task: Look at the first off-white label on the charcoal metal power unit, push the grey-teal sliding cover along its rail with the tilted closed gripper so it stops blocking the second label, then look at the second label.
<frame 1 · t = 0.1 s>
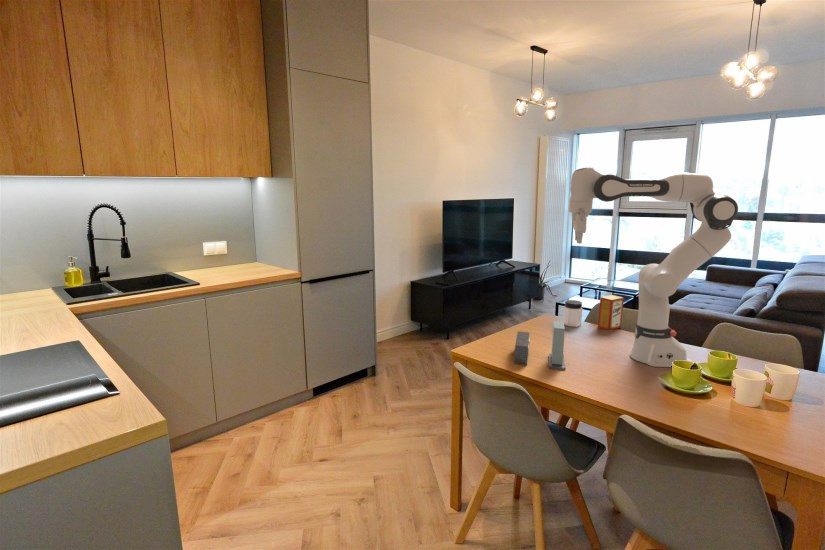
hand: (578, 241, 183), 48 cm above the table, tool pointing down, fingers open, 8 cm apart
baking soda box: (609, 327, 224), on the table
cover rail: (556, 362, 180), on the table
power unit: (521, 356, 187), on the table
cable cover: (557, 342, 178), point 9 cm above the table, slide at 0.0 cm
jar: (571, 324, 229), on the table
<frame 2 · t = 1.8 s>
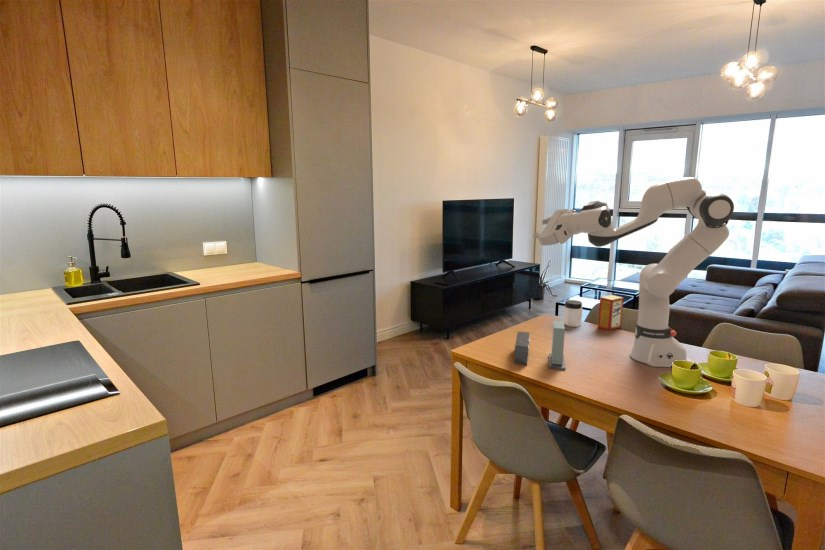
hand: (538, 229, 189), 53 cm above the table, tool horizontal, fingers open, 8 cm apart
nothing on the table moved.
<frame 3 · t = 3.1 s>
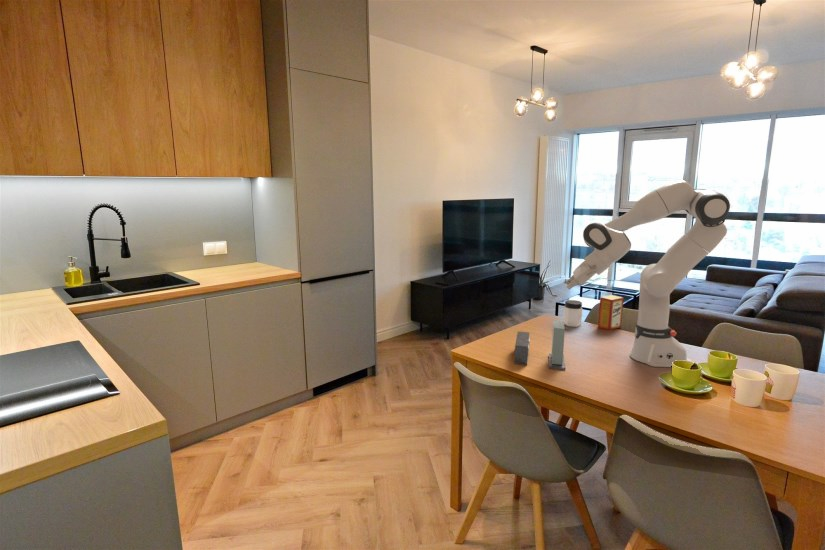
hand: (567, 285, 184), 30 cm above the table, tool tilted 45°, fingers open, 8 cm apart
nothing on the table moved.
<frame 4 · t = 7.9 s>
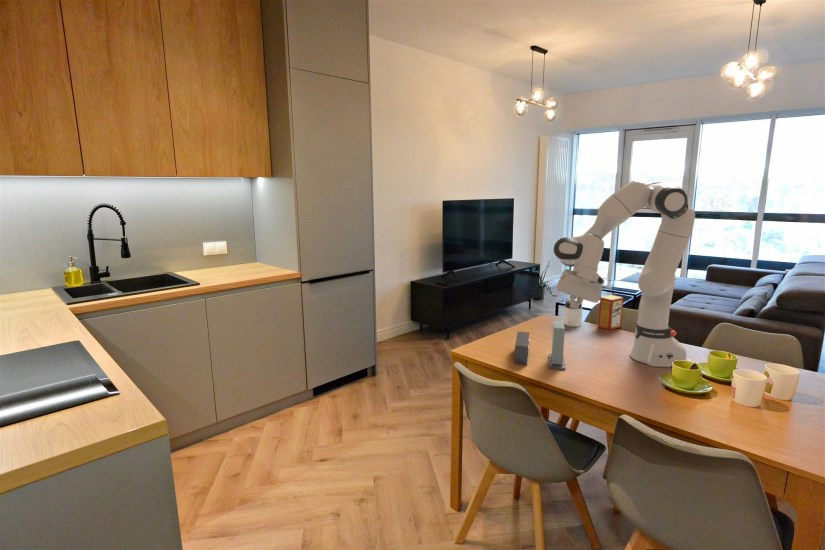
hand: (573, 308, 174), 23 cm above the table, tool tilted 20°, fingers closed
nothing on the table moved.
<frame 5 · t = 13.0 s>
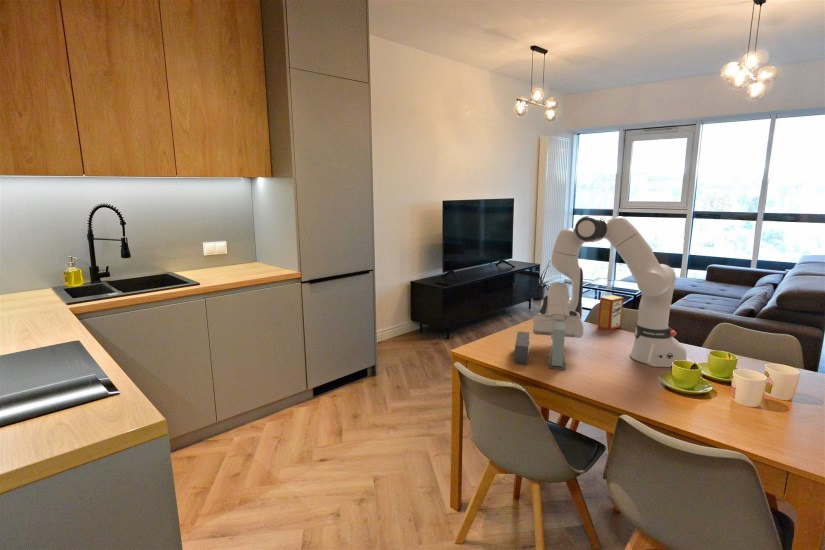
hand: (557, 344, 182), 6 cm above the table, tool tilted 45°, fingers closed, pressing on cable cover
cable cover: (557, 343, 177), point 9 cm above the table, slide at 1.5 cm, touching gripper
everything else where it was.
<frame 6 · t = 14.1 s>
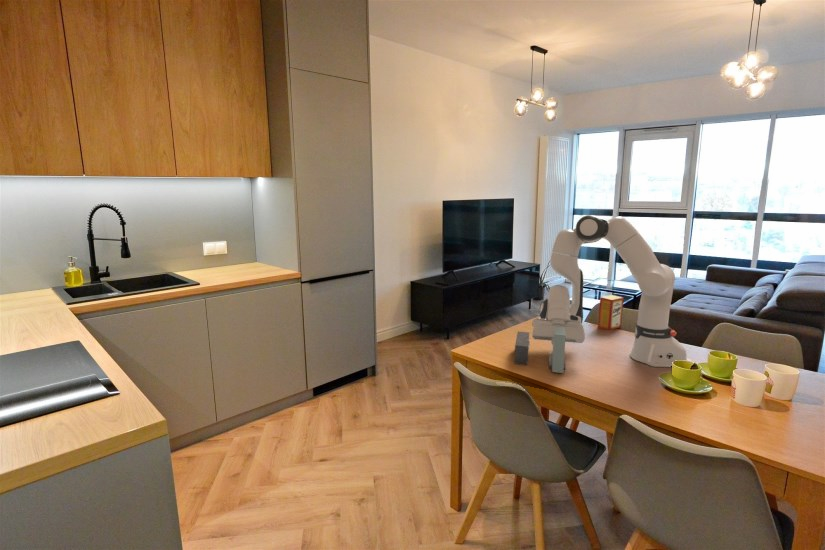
hand: (557, 350, 176), 6 cm above the table, tool tilted 45°, fingers closed, pressing on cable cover
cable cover: (558, 349, 171), point 9 cm above the table, slide at 7.9 cm, touching gripper
everything else where it was.
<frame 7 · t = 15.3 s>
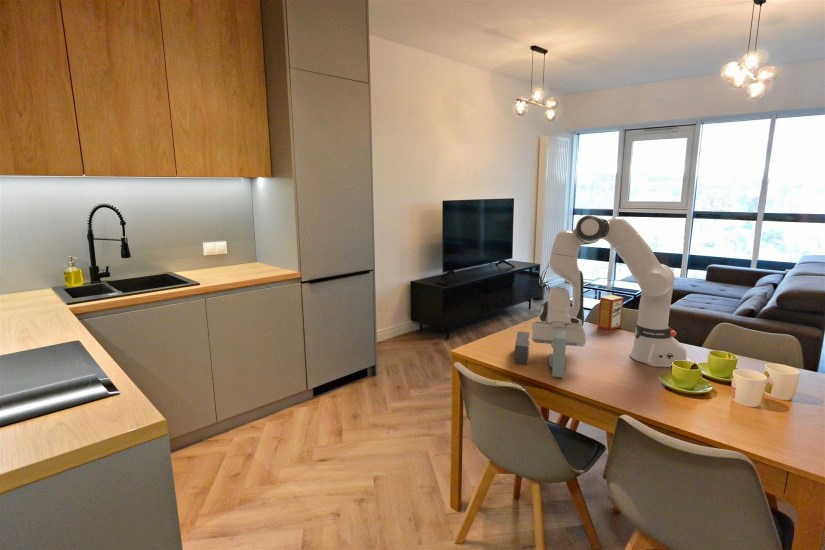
hand: (558, 353, 172), 6 cm above the table, tool tilted 45°, fingers closed, pressing on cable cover
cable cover: (558, 353, 167), point 9 cm above the table, slide at 11.9 cm, touching gripper
everything else where it was.
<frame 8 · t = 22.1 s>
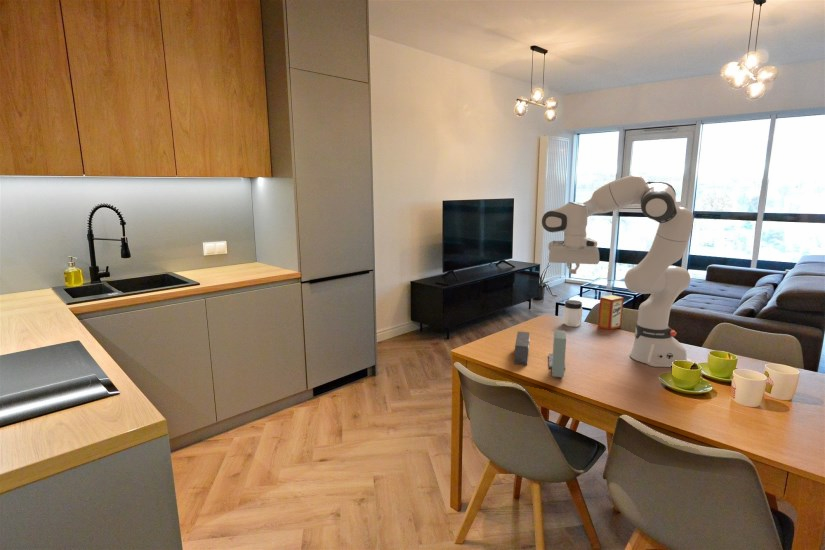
hand: (572, 273, 188), 34 cm above the table, tool pointing down, fingers closed
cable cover: (558, 353, 167), point 9 cm above the table, slide at 12.0 cm
everything else where it was.
at the end: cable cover slide at 12.0 cm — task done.
